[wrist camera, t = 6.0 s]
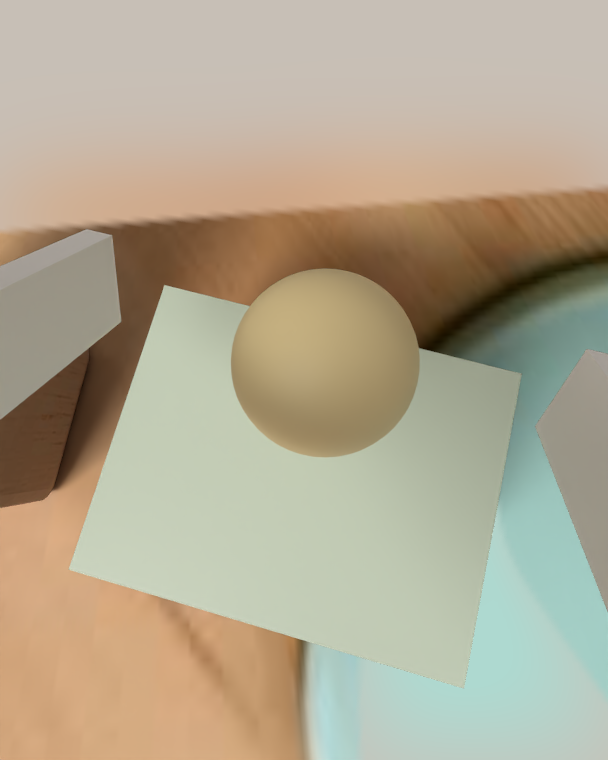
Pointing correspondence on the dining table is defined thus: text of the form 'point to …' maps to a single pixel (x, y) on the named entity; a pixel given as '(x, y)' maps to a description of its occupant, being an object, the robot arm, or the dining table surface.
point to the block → (38, 436)
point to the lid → (307, 472)
